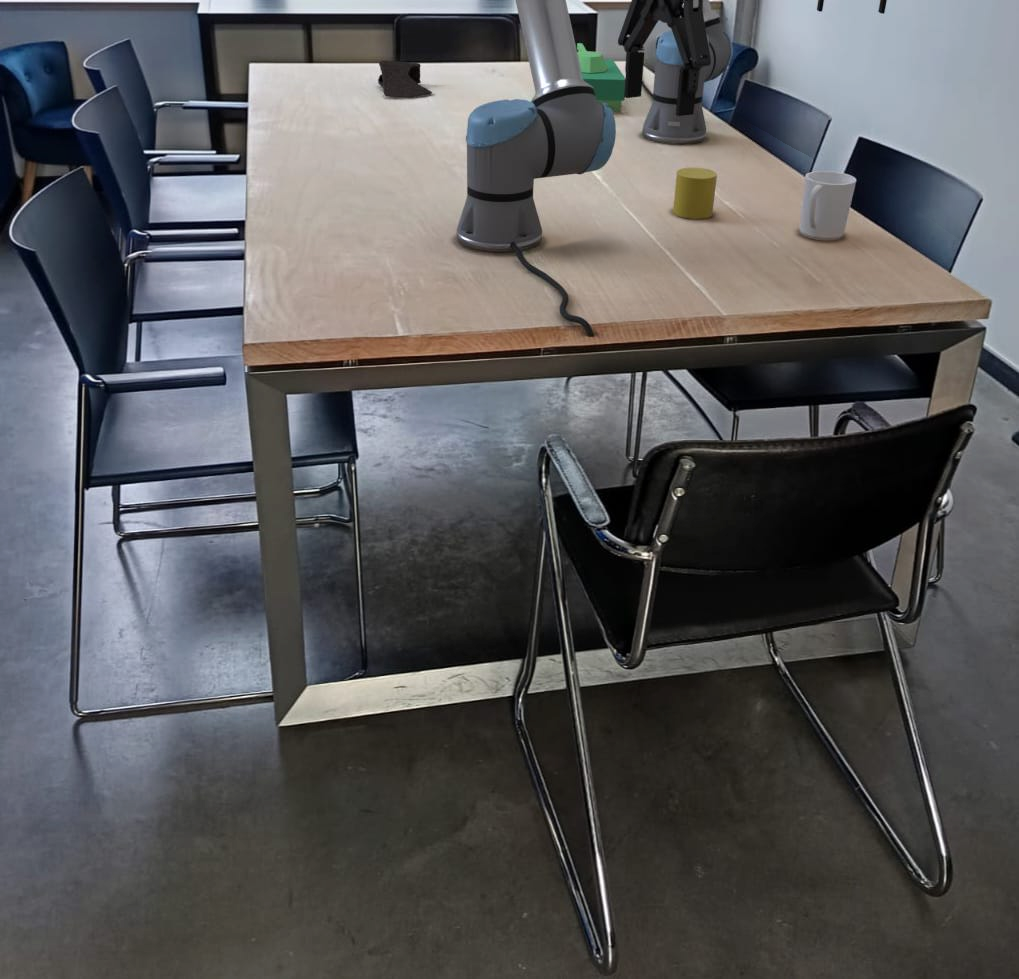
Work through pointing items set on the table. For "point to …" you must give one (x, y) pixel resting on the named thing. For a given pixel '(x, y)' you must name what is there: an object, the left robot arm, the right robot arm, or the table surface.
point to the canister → (694, 193)
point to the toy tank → (602, 77)
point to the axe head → (401, 79)
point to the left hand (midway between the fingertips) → (657, 105)
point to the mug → (826, 204)
